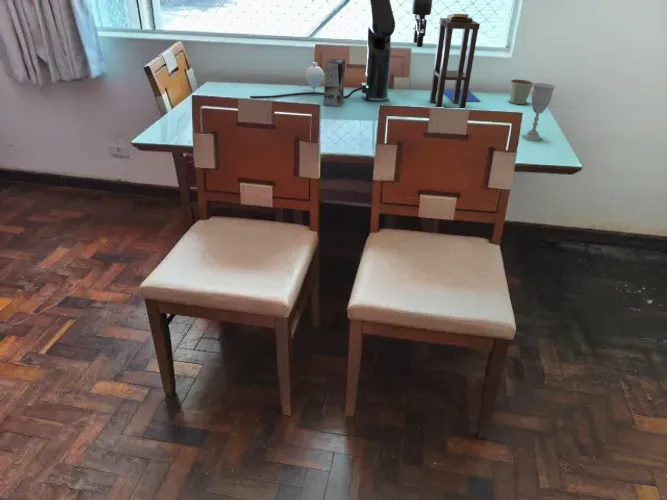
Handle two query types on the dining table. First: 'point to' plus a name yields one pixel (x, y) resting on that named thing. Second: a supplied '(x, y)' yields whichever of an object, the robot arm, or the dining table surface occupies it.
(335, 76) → the coffee box
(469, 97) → the cloth
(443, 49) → the stand
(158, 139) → the dining table surface
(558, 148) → the dining table surface
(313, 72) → the spinning top
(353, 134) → the dining table surface
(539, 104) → the chalice
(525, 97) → the flower pot
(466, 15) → the spoon
